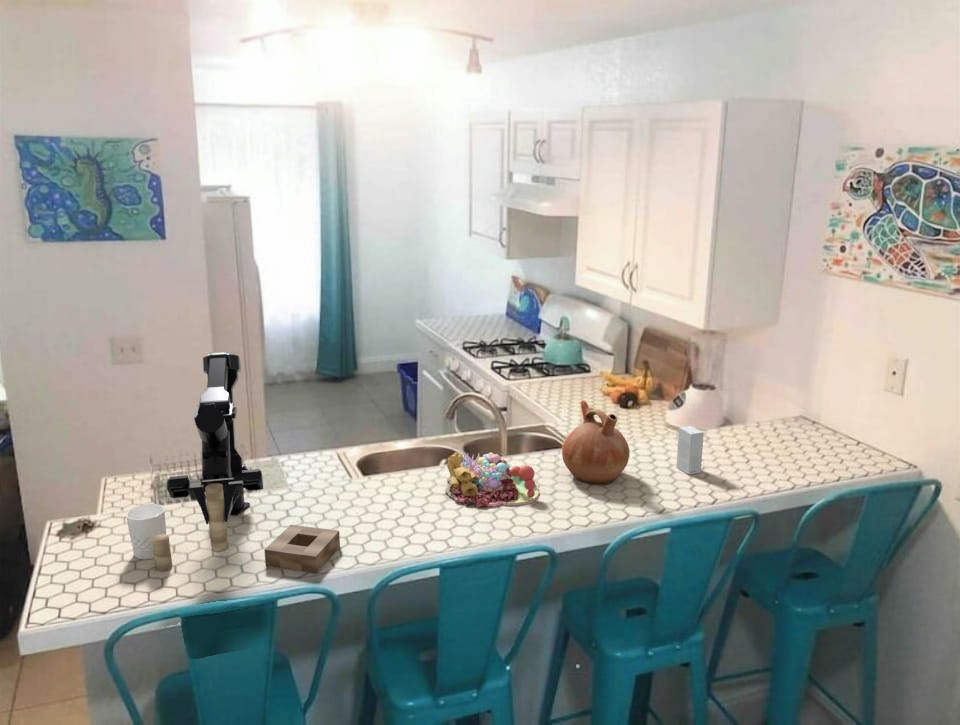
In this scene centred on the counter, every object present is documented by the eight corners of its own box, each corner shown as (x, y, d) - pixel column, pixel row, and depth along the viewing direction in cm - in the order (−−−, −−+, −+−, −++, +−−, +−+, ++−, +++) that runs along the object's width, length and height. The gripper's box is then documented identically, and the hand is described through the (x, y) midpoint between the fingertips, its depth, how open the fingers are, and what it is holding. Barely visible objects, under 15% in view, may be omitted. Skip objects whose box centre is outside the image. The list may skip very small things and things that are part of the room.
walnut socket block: (291, 540, 184) (290, 524, 183) (340, 546, 181) (339, 530, 180) (265, 566, 173) (264, 549, 172) (316, 573, 170) (315, 556, 169)
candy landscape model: (455, 514, 198) (454, 479, 196) (435, 476, 220) (435, 445, 217) (550, 502, 204) (551, 469, 202) (522, 467, 226) (522, 437, 224)
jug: (548, 469, 224) (550, 401, 218) (603, 459, 231) (606, 393, 226) (583, 495, 208) (586, 422, 202) (641, 483, 215) (645, 412, 210)
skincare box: (701, 473, 222) (704, 432, 218) (688, 475, 220) (691, 434, 217) (688, 465, 227) (691, 425, 224) (675, 467, 226) (678, 427, 222)
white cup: (174, 543, 183) (169, 503, 180) (162, 561, 175) (157, 519, 173) (139, 544, 183) (134, 503, 180) (125, 561, 175) (120, 520, 172)
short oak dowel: (161, 562, 175) (158, 533, 173) (175, 564, 174) (172, 535, 172) (152, 570, 171) (148, 540, 170) (165, 572, 171) (162, 542, 169)
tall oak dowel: (217, 543, 169) (211, 482, 165) (231, 545, 168) (225, 483, 164) (208, 551, 165) (201, 489, 162) (223, 553, 165) (217, 490, 161)
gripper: (263, 463, 180) (266, 530, 173) (175, 470, 176) (174, 539, 168) (260, 442, 170) (263, 512, 163) (167, 450, 166) (165, 522, 159)
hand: (216, 522), depth 164 cm, fingers closed on tall oak dowel, 3 cm apart
